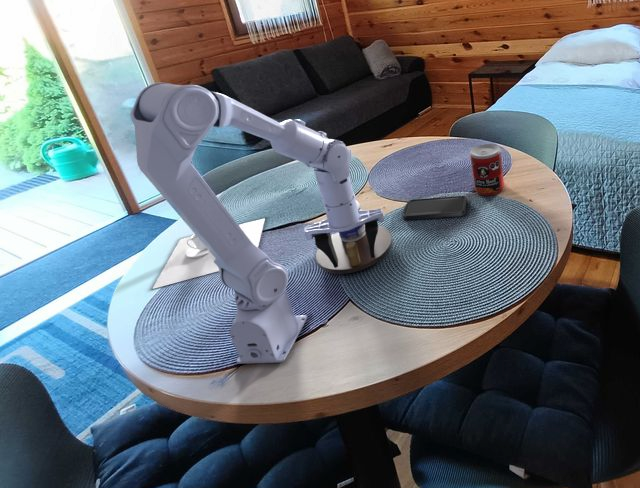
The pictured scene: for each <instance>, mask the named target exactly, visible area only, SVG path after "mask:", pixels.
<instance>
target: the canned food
mask: <svg viewBox="0 0 640 488" xmlns="http://www.w3.org/2000/svg"><path fill="white" fill-rule="evenodd" d="M501 152H502V151H501V147H500V146H499V145H497V144H493V143H484V144H479V145H476V146H474V147H473V148H471V149H470V151H469V157H470V165H471V171H472V172H471V173H472V179H473V186H474V191H475V192H476V193H477V194H478V195H481V196H494V195H497V194H499V193H500V192H502V191H503V190H504V187H505V179H504V170H503V169H504V168H503V160H502V153H501Z"/></svg>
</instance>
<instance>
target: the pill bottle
mask: <svg viewBox="0 0 640 488" xmlns="http://www.w3.org/2000/svg"><path fill="white" fill-rule="evenodd" d="M354 196H355V200H356V199H357V197H356V194H355V193H354ZM356 205H357V209H358V211H362V209H361V208H362V207H361V205H360V202H358V200H356ZM365 233H366V232H365V224H364V225H360V226H357V227H355V228H353V229H350V230H348V231H344V232H339V235H340V238H341V240H342V241H345V242H353V241H357V240H359V239H361V238H362V237H363V236H364V235H365Z"/></svg>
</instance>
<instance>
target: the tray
mask: <svg viewBox="0 0 640 488" xmlns="http://www.w3.org/2000/svg"><path fill="white" fill-rule="evenodd" d="M331 239H332V243H333V247H334V249H335V252H336V255H337V259H338V267H336V268H334V266H333V264H332V262H331V261H330V259H329V258H328V257H327V255H326V254H325V253H324V252H322V251H321V250H320V249H319V248H317V249H316V252H315V260H316V261H315V262H316V264H317V266H318V267H319V268H320V269H321V270H323V271H324V272H326V273H330V274H335V275H343V274H351V273H356V272H359V271H363V270H365V269H368V268H370V267H372V266H374V265H375V264H377V263H379V262H380V261H382V260H383V259H384V258H385V257H386V256H387V255H389V252H390V251H391V249H392V247H393V243H394V240H393V235H392V233H391V231H390V230H389V229H387V228H386V227H384V226H382V225H378V233H377V236H376V240H375V246H374V255H375V257H373V258H371V255H370V248H369V243H368V240H367V236H366V233H365V235H364V236H363V237H362V238H361V239H359V240H357V241H353V242H345V241H342V240H341V238H340V235H339V232H334V233H333V234H332V235H331Z"/></svg>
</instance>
